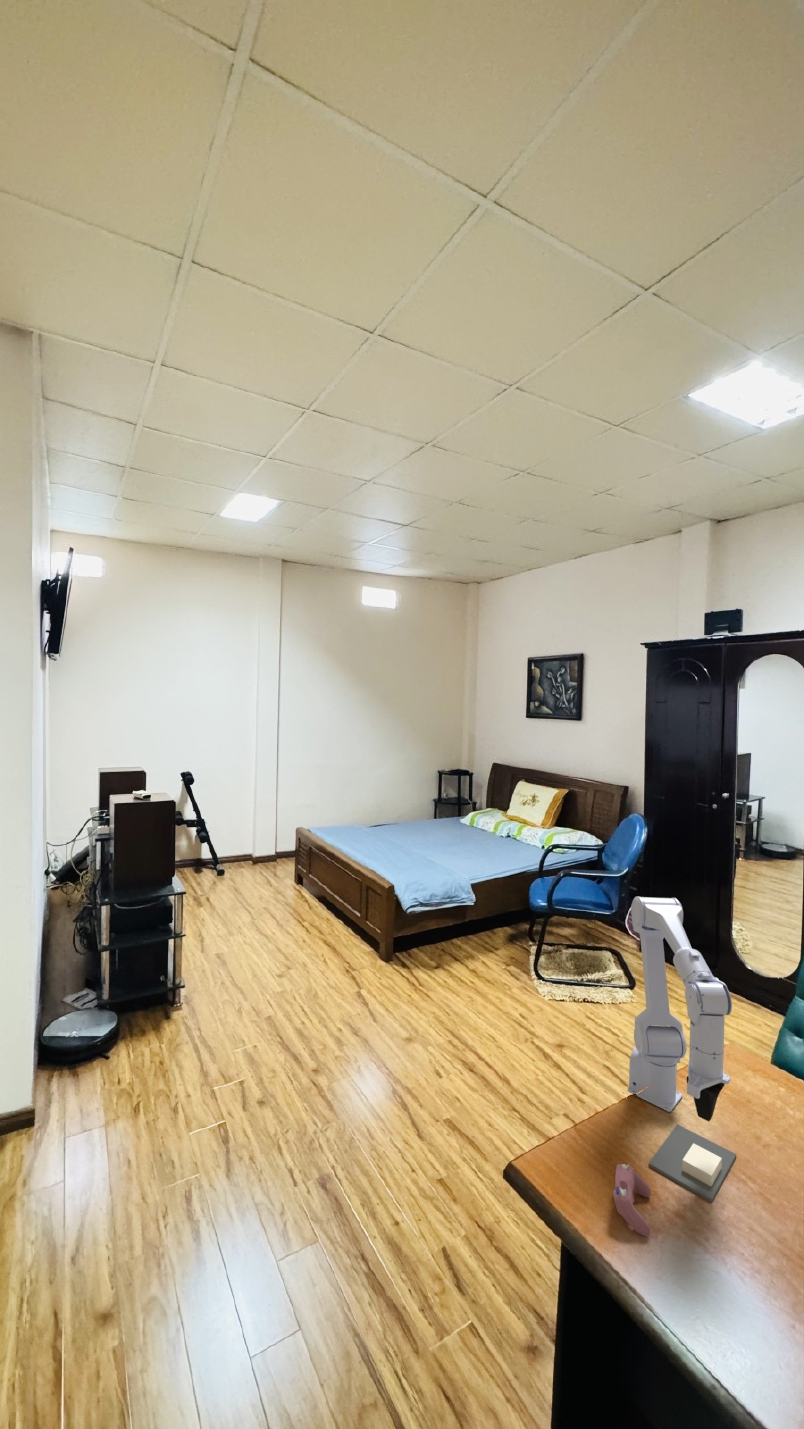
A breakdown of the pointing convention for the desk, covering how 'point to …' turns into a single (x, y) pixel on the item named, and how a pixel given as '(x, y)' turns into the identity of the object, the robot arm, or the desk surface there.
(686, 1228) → the desk surface
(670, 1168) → the mat
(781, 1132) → the desk surface
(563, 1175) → the desk surface
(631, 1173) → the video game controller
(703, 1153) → the block
